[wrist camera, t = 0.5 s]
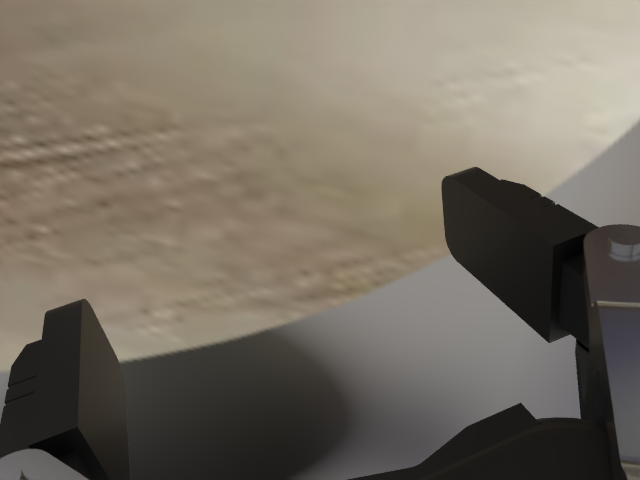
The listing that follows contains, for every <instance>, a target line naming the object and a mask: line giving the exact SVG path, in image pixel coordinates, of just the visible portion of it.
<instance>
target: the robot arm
mask: <svg viewBox="0 0 640 480" xmlns="http://www.w3.org/2000/svg"><path fill="white" fill-rule="evenodd" d="M442 201H443V214H444V227H445V238H446V242H447V245H448V248H449V250H450V252H451V254H452V255H453V257H454V258H455V259H456V261H457V262H459V263H460V264H461V265H462V266H463V267H464V268H465V269H466V270H468V271H469V272H470V273H471V274H472V275H473V276H474V277H475V278H477V279H478V280H479V281H480V282H481V283H482V284H483V285H484V286H486V287H487V288H488V289H489V290H490V291H491V292H492V293H493V294H495V295H496V296H497V297H498V298H499V299H500V300H501V301H502V302H503V303H505V304H506V305H507V306H508V307H509V308H510V309H511V310H512V311H514V312H515V313H516V314H517V315H518V316H519V317H520V318H521V319H523V320H524V321H525V322H526V323H527V324H528V325H529V326H530V327H532V328H533V329H534V330H535V331H536V332H537V333H538V334H540V335H541V336H542V337H543V338H544V339H545V340H546V341H547V342H548V343H551V342H553V341H556V340H558V339H560V338H563V337H565V336H567V335H570V334H571V335H572V336H574V337H575V338H576V347H575V357H576V368H577V380H578V391H579V404H580V416H581V419H577V418H542V419H535V418H534V417H533V416H532V415H531V414H530V412H529V411H528V410H527V409H526V408H525V407H524V406H523V405H522V404H521V403H519V404H517V405H515V406H512V407H510V408H508V409H506V410H503V411H501V412H499V413H497V414H494V415H492V416H490V417H488V418H485V419H483V420H481V421H479V422H476V423H474V424H472V425H470V426H468V427H466V428H465V429H463V430H462V431H461V432H460V433H458V434H457V435H456V436H455V437H453V438H452V439H451V440H450V441H448V442H447V443H446V444H445V445H444V446H442V447H441V448H440V449H438V450H437V451H436V452H435V453H433V454H432V455H431V456H430V457H429V458H427V459H426V460H425V461H423V462H422V463H421V464H419V465H417V466H415V467H411V468H407V469H401V470H396V471H391V472H385V473H380V474H375V475H370V476H364V477H359V478H353V479H348V480H640V227H639V226H633V225H621V224H619V225H608V226H603V227H600V228H599V227H597V226H595V225H594V224H592V223H590V222H588V221H587V220H585V219H583V218H581V217H580V216H578V215H576V214H574V213H573V212H571V211H569V210H567V209H566V208H564V207H562V206H560V205H559V204H557V205H555V203H554V202H553V201H552V200H550V199H548V198H546V197H545V196H544V197H542V196H541V194H540V193H538V192H536V191H534V190H533V189H531V188H529V187H527V186H526V185H523V184H519V183H515V182H511V181H507V180H498V179H497V178H495V177H493V176H492V175H490V174H488V173H487V172H485V171H483V170H482V169H480V168H478V167H473V168H470V169H467V170H464V171H461V172H458V173H455V174H452V175H449V176H446V177H445V178H444V179H443V181H442ZM8 387H9V389H8V390H7V393H6V398H5V404H6V406H4V408H3V413H2V418H1V424H0V480H131V479H130V462H129V447H128V432H127V417H126V404H125V403H126V402H125V387H124V379H123V374H122V371H121V367H120V364H119V362H118V359H117V357H116V355H115V353H114V351H113V349H112V347H111V345H110V343H109V341H108V339H107V337H106V335H105V333H104V331H103V329H102V327H101V325H100V323H99V321H98V319H97V317H96V315H95V313H94V311H93V309H92V307H91V305H90V304H89V302H88V301H87V300H86V299H82V300H79V301H76V302H73V303H70V304H67V305H64V306H61V307H58V308H55V309H52V310H49V311H47V312H46V313H45V318H44V326H43V333H42V340H39V341H36V342H33V343H30V344H27V345H26V346H25V347H24V349H23V350H22V352H21V353H20V355H19V356H18V357H17V359H16V360H15V362H14V363H13V365H12V367H11V372H10V377H9V382H8Z"/></svg>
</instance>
